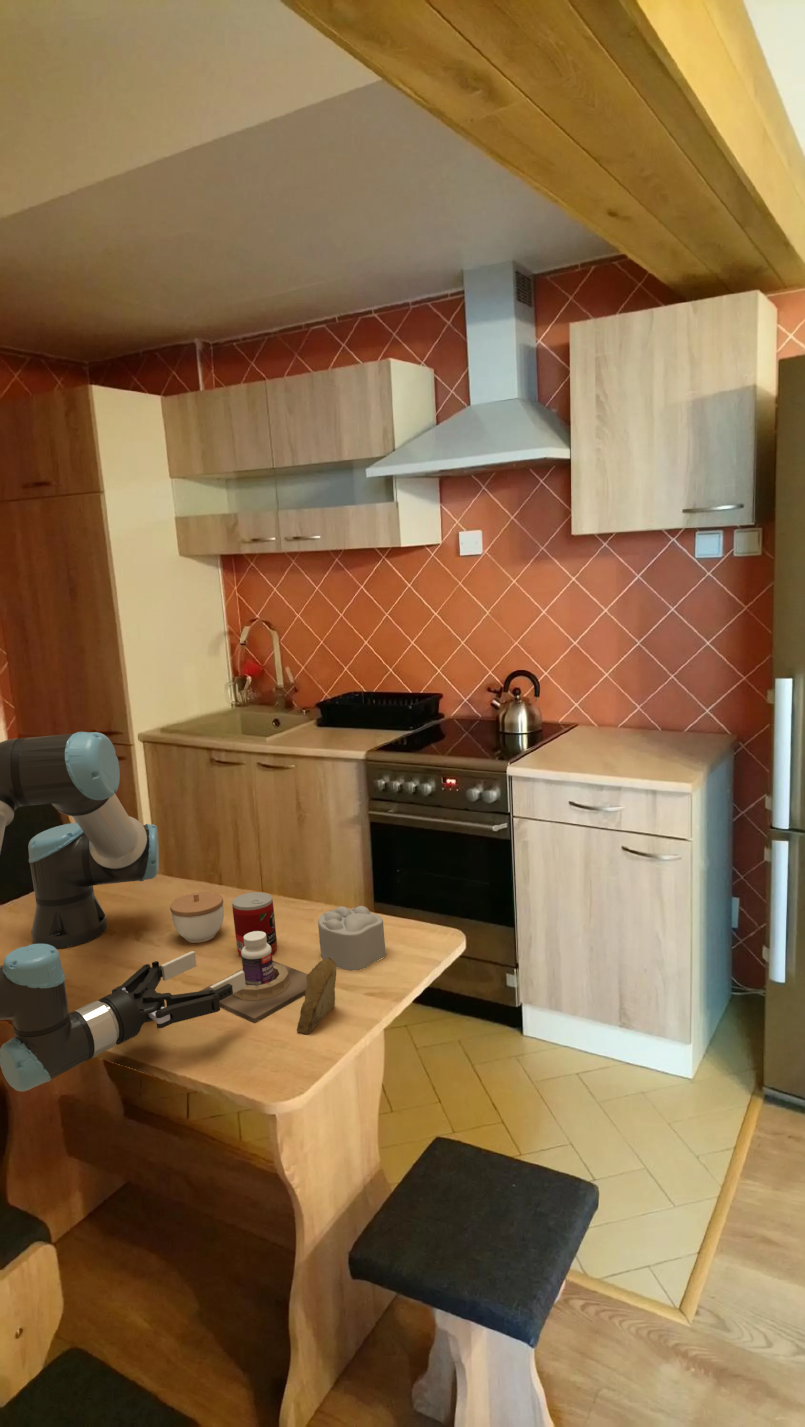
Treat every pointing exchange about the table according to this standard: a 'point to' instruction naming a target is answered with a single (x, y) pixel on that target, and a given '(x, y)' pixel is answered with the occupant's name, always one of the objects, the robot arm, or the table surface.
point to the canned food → (254, 917)
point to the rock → (318, 995)
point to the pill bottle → (257, 959)
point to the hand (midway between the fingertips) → (218, 968)
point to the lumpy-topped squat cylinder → (351, 937)
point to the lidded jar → (198, 915)
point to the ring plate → (269, 1003)
